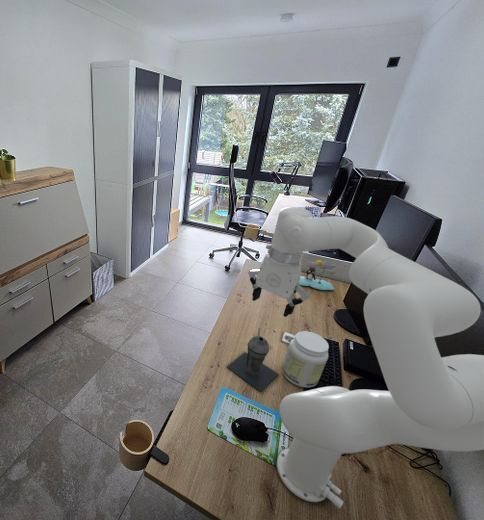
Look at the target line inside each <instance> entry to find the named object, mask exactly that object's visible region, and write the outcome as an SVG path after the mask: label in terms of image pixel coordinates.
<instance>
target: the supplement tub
mask: <svg viewBox="0 0 484 520" xmlns="http://www.w3.org/2000/svg"><path fill="white" fill-rule="evenodd" d="M294 335H295V337H294V339H292V340H291V342H290V344H288V347H287V350H286V354H285V357H284V360H283V363H282V366H281V369H282V373H283V375H284V377H285V379H287V380H288V381H289V382H290V383H291V384H293V385H295V386H298V387H299V388H307V389H308V388H309V389H310V388H313V387H316V386H317V385H318V384H319V381H320V378H321V376H322V374H323V371H324V369H325V366H326V364H327V361H328V360H329V348H330V346H329V345H330V344H329V342H328V341H327V340H326V339H325V338H324V337H322V336H321V335H319V334H317V333H315V332H312V331H307V330H303V331H302V330H301V331H298V332H297V333H296V334H294Z"/></svg>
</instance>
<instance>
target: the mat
mask: <svg viewBox="0 0 484 520" xmlns="http://www.w3.org/2000/svg"><path fill="white" fill-rule="evenodd" d="M247 354H248V352H243V353H242V354H241V355H240V356H239V357H237V358H236V359H235V360H233V361H232V362H231V363H230V364H228V365H227V366H226V368H228V370H230V371H231V372H232V373H233V374H235V375H237V376H238V377H239V378H240V379H242V380H243V381H244V382H246V383H247V384H249V385H250V386H251V387H253V388H254V389H256V390H257V391H258V392H260V393H261V392H262V391H263V390H264V389H266V387H268V385H270V384H271V383H272V382H273V381H274V379H275V378H277V377H278V375H279V373H277V372H276V371H274V370H273V369H271V368H270V367H268V366H266V365H265V364H264V363H262V366H261V368H260V370H259V372H258V374H257V375H252V374H250V373H248V372H247V371H246V362H247Z"/></svg>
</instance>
